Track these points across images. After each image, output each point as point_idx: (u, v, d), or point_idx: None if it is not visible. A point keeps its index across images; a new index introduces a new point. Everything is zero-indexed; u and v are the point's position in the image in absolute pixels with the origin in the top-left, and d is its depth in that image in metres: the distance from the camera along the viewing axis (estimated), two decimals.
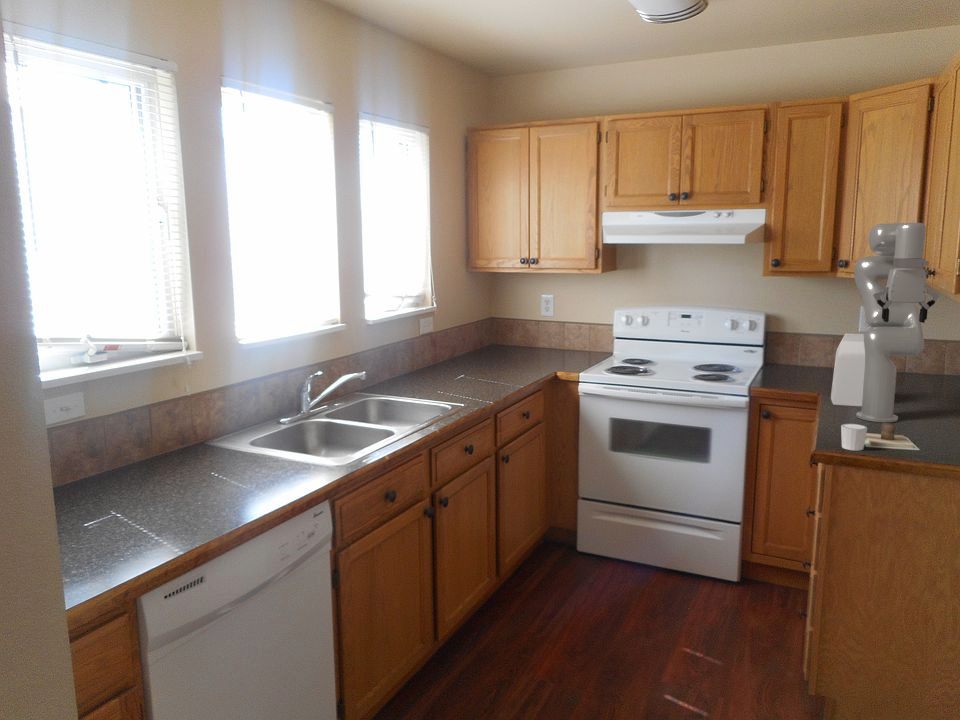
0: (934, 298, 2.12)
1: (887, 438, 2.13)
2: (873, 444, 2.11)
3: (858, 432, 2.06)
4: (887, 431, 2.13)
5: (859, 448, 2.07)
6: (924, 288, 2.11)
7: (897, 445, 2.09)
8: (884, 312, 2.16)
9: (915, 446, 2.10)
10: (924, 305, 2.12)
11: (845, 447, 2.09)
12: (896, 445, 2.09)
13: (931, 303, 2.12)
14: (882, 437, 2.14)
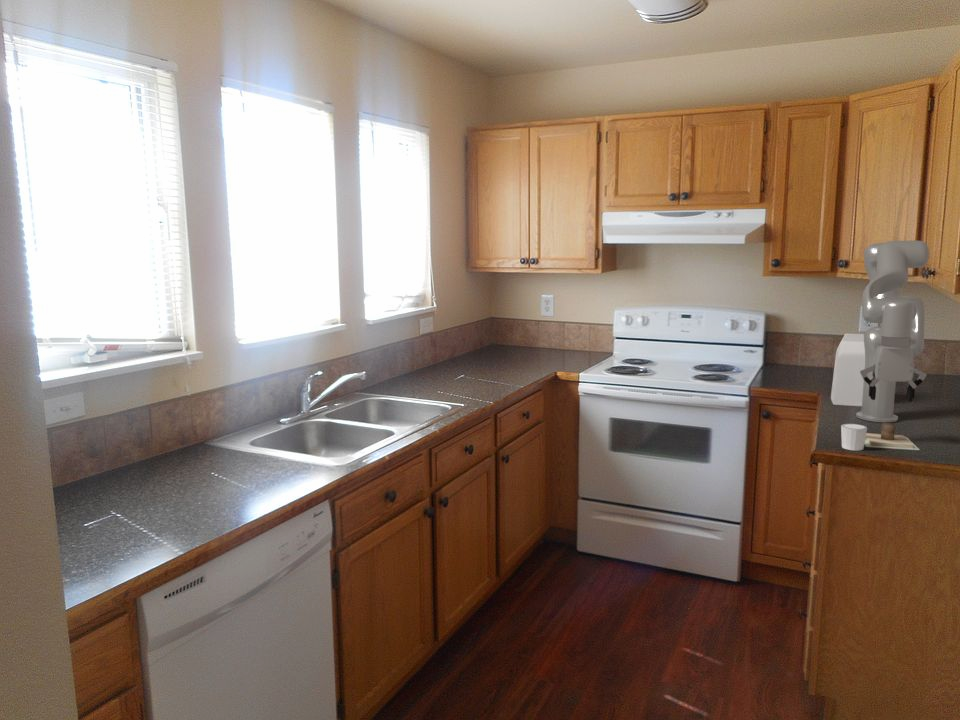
0: (921, 377, 2.08)
1: (887, 438, 2.13)
2: (873, 444, 2.11)
3: (857, 432, 2.06)
4: (887, 431, 2.13)
5: (859, 448, 2.07)
6: (911, 367, 2.08)
7: (897, 445, 2.09)
8: (871, 390, 2.13)
9: (915, 446, 2.10)
10: (911, 384, 2.09)
11: (845, 447, 2.09)
12: (896, 445, 2.09)
13: (918, 382, 2.09)
14: (882, 437, 2.14)
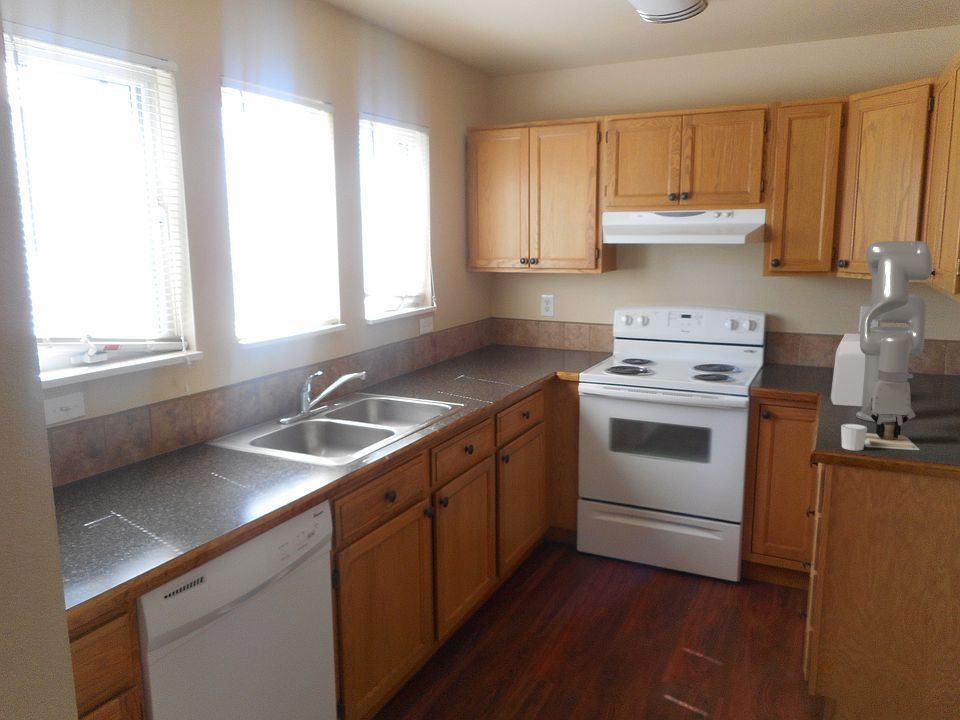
0: (909, 416, 2.11)
1: (887, 438, 2.13)
2: (873, 444, 2.11)
3: (857, 432, 2.06)
4: (887, 431, 2.13)
5: (859, 448, 2.07)
6: (908, 401, 2.10)
7: (897, 445, 2.09)
8: (878, 427, 2.14)
9: (915, 446, 2.10)
10: (899, 420, 2.12)
11: (845, 447, 2.09)
12: (896, 445, 2.09)
13: (904, 419, 2.12)
14: (882, 437, 2.14)
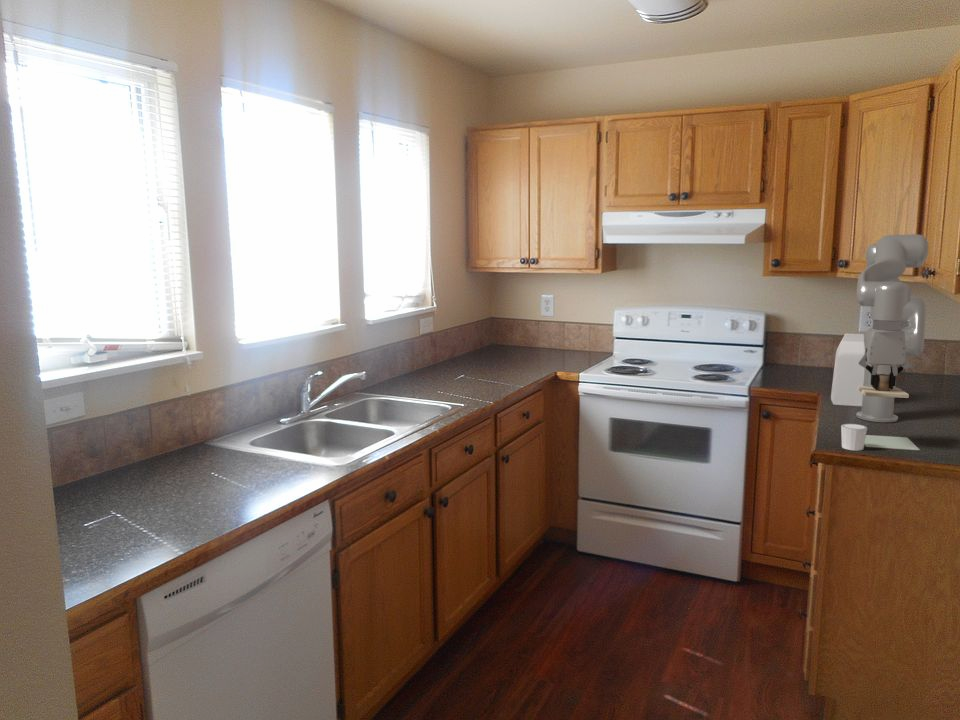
0: (904, 366, 2.07)
1: (882, 389, 2.09)
2: (868, 394, 2.07)
3: (858, 432, 2.06)
4: (882, 382, 2.09)
5: (859, 448, 2.07)
6: (903, 351, 2.06)
7: (892, 395, 2.05)
8: (873, 378, 2.10)
9: (915, 446, 2.10)
10: (894, 370, 2.08)
11: (845, 447, 2.09)
12: (891, 395, 2.05)
13: (899, 370, 2.08)
14: (877, 388, 2.10)
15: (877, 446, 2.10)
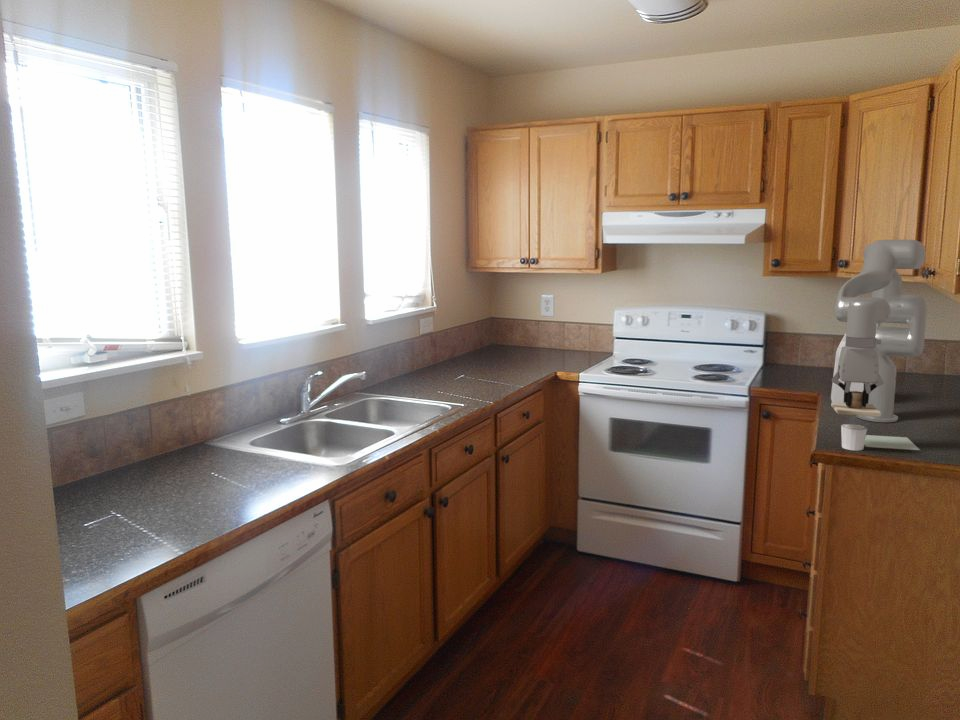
0: (877, 383, 2.04)
1: (855, 407, 2.06)
2: (840, 412, 2.04)
3: (858, 432, 2.06)
4: (855, 399, 2.06)
5: (859, 448, 2.07)
6: (876, 368, 2.02)
7: (865, 413, 2.02)
8: (846, 396, 2.07)
9: (915, 446, 2.10)
10: (867, 388, 2.05)
11: (845, 447, 2.09)
12: (863, 413, 2.02)
13: (872, 387, 2.05)
14: (850, 406, 2.07)
15: (877, 446, 2.10)
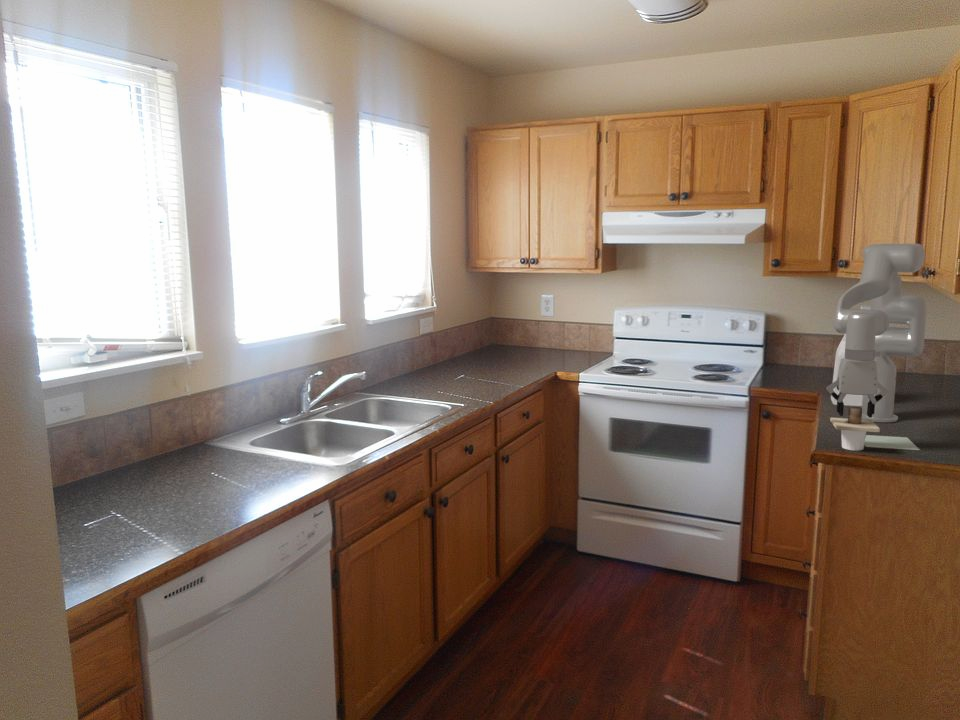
0: (882, 393, 2.04)
1: (854, 422, 2.07)
2: (839, 428, 2.05)
3: (857, 432, 2.06)
4: (854, 415, 2.07)
5: (859, 448, 2.07)
6: (875, 381, 2.03)
7: (863, 429, 2.03)
8: (838, 405, 2.08)
9: (915, 446, 2.10)
10: (872, 399, 2.05)
11: (845, 447, 2.09)
12: (862, 429, 2.03)
13: (878, 398, 2.05)
14: (849, 421, 2.08)
15: (877, 446, 2.10)
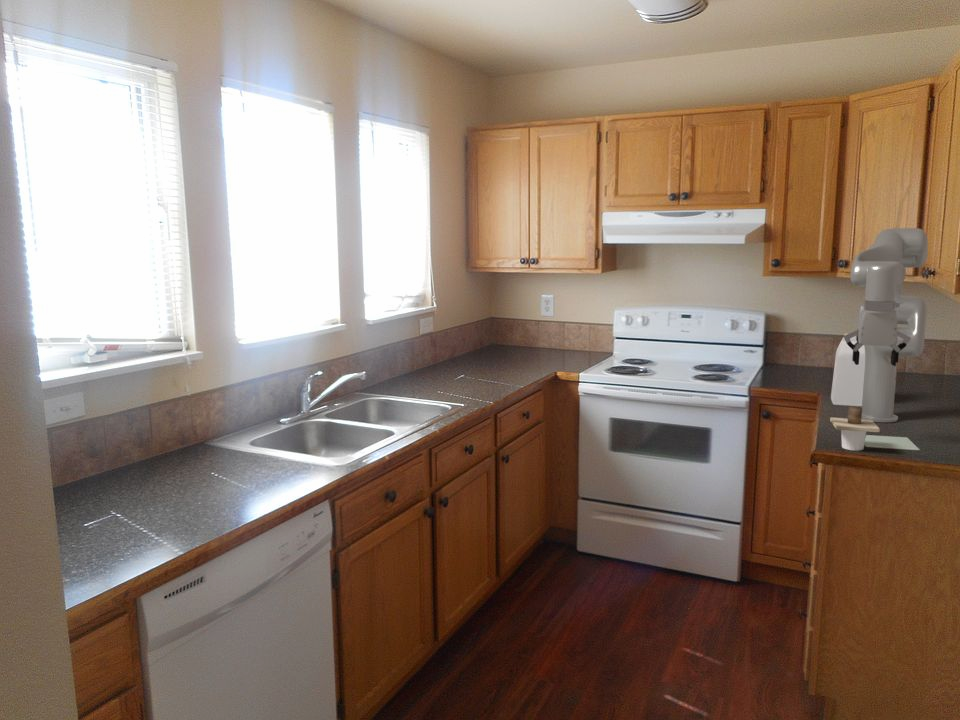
0: (905, 341, 2.06)
1: (854, 422, 2.07)
2: (839, 428, 2.05)
3: (857, 432, 2.06)
4: (854, 415, 2.07)
5: (859, 448, 2.07)
6: (895, 331, 2.05)
7: (863, 429, 2.03)
8: (854, 354, 2.11)
9: (915, 446, 2.10)
10: (895, 348, 2.06)
11: (845, 447, 2.09)
12: (862, 429, 2.03)
13: (902, 346, 2.06)
14: (849, 421, 2.08)
15: (877, 446, 2.10)
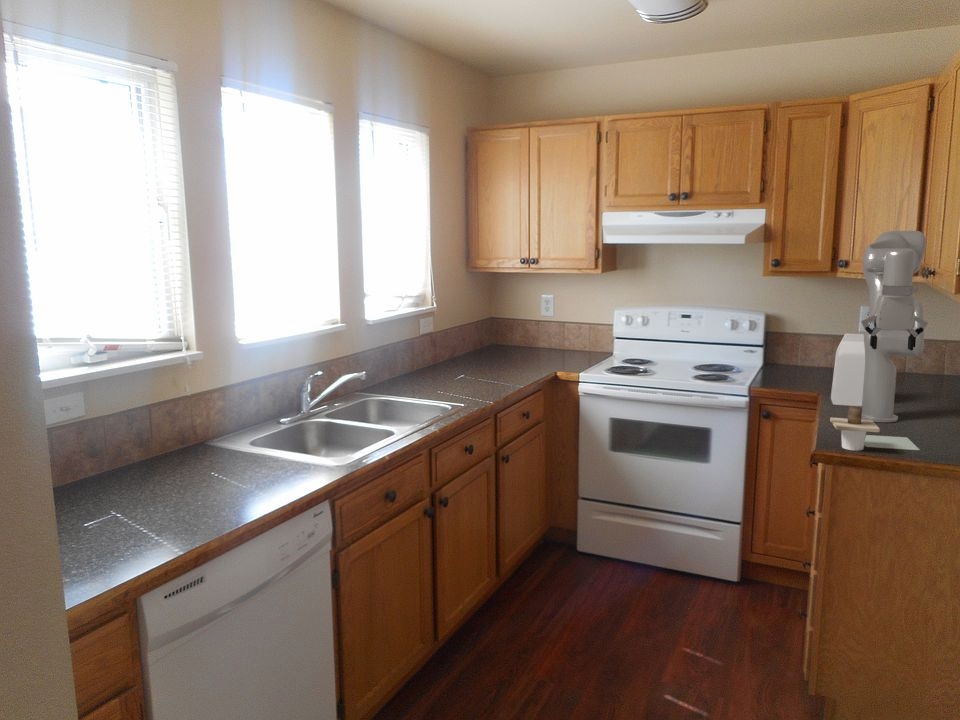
0: (923, 326, 2.09)
1: (854, 422, 2.07)
2: (839, 428, 2.05)
3: (857, 432, 2.06)
4: (854, 415, 2.07)
5: (859, 448, 2.07)
6: (912, 316, 2.08)
7: (863, 429, 2.03)
8: (872, 339, 2.14)
9: (915, 446, 2.10)
10: (912, 333, 2.10)
11: (845, 447, 2.09)
12: (862, 429, 2.03)
13: (919, 331, 2.10)
14: (849, 421, 2.08)
15: (877, 446, 2.10)
